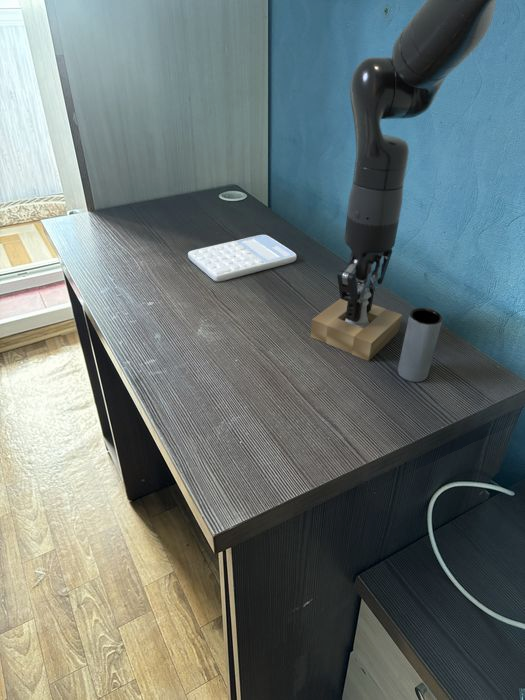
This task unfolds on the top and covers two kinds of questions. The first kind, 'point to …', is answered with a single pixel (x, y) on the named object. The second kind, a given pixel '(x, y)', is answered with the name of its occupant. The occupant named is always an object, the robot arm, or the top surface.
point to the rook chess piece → (362, 310)
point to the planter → (419, 344)
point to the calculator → (241, 257)
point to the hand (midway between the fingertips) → (358, 314)
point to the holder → (356, 330)
